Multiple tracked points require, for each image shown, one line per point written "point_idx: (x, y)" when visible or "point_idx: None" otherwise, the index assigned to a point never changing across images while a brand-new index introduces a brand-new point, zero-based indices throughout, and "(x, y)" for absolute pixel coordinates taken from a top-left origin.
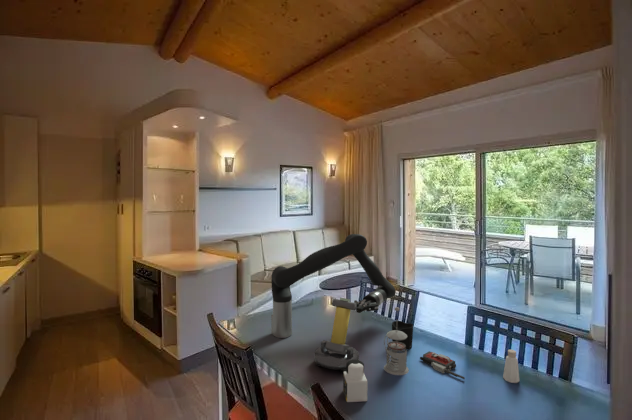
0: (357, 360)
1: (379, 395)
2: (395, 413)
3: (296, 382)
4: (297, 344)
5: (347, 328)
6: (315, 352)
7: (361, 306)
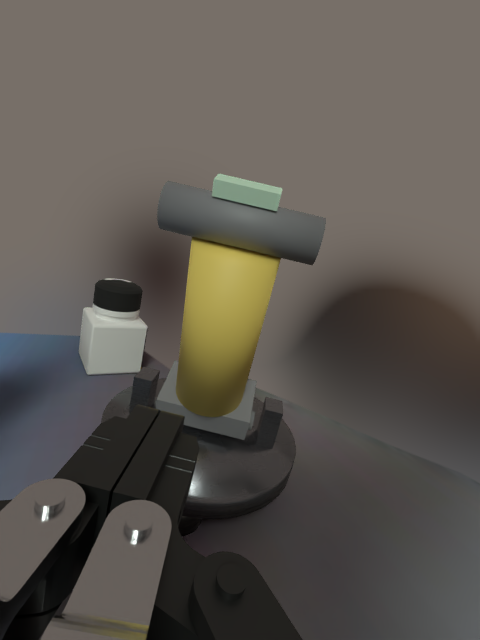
0: (114, 284)
1: (40, 364)
2: (16, 334)
3: (260, 389)
4: (476, 594)
5: (182, 330)
6: (282, 422)
7: (112, 463)
